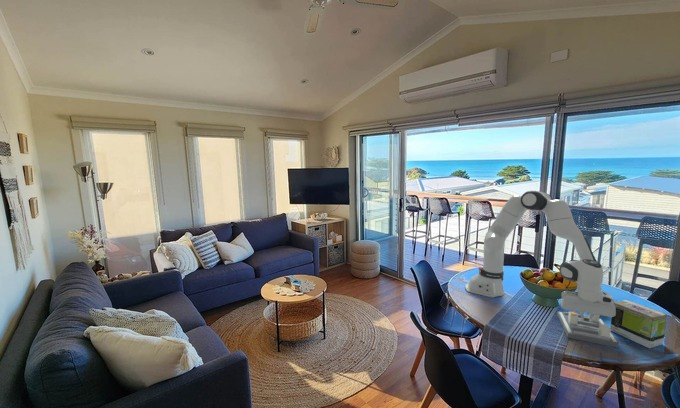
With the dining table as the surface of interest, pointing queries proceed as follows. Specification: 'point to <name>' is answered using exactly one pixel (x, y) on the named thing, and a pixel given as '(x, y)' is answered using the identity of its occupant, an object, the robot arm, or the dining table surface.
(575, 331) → the panel
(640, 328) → the tea box
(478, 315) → the dining table surface
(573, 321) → the breaker
